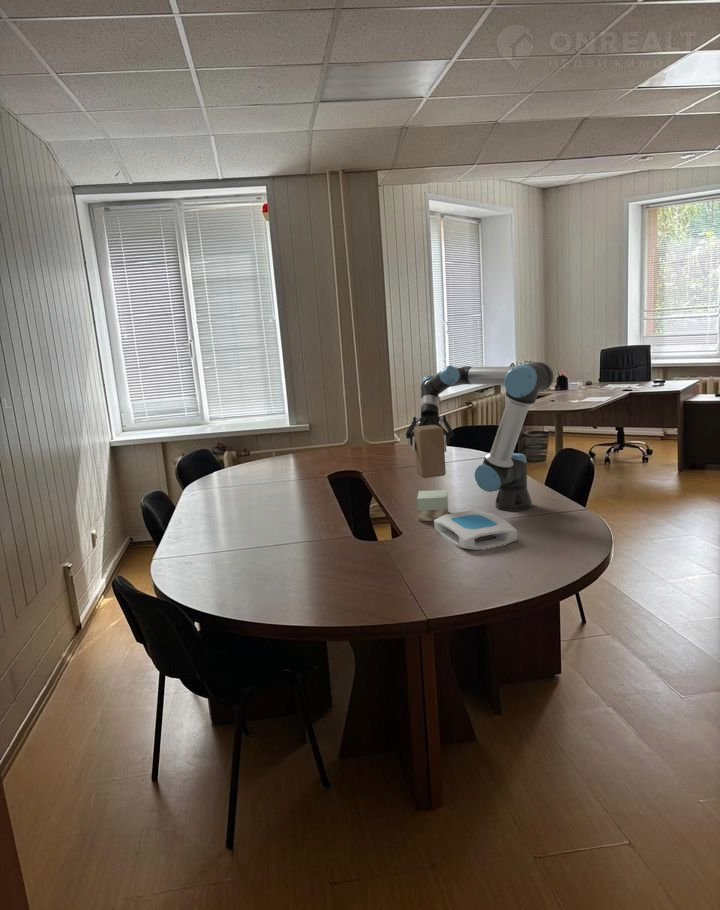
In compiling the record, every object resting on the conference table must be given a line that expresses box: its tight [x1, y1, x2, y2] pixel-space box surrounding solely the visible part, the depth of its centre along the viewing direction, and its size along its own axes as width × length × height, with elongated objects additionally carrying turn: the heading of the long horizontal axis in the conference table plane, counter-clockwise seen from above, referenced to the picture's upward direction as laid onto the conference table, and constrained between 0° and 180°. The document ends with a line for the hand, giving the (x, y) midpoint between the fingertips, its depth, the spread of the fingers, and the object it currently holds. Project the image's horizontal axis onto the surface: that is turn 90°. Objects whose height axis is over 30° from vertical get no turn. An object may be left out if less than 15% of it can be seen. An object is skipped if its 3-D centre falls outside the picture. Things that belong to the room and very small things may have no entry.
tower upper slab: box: [416, 489, 449, 511], centre depth 276 cm, size 12×12×5 cm
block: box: [413, 425, 447, 479], centre depth 271 cm, size 10×10×20 cm
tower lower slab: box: [417, 507, 449, 522], centre depth 278 cm, size 12×12×5 cm
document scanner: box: [433, 510, 518, 551], centre depth 248 cm, size 21×28×6 cm
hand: (429, 450), depth 270 cm, fingers closed on block, 12 cm apart
